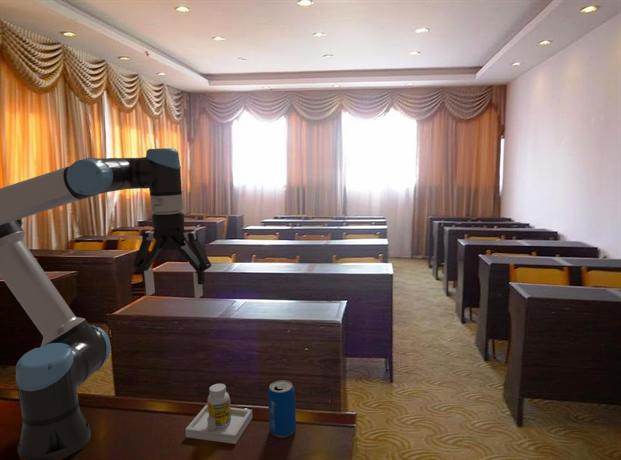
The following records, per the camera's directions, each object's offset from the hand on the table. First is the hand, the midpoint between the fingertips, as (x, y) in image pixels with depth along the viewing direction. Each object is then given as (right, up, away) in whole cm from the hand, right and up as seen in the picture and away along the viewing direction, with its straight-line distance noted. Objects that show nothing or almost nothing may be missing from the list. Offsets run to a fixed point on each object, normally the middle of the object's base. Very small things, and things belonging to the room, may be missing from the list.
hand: (174, 295), depth 115 cm
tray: (+12, -33, -1) cm, 35 cm away
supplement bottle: (+12, -32, -1) cm, 34 cm away
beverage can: (+28, -33, -3) cm, 43 cm away
